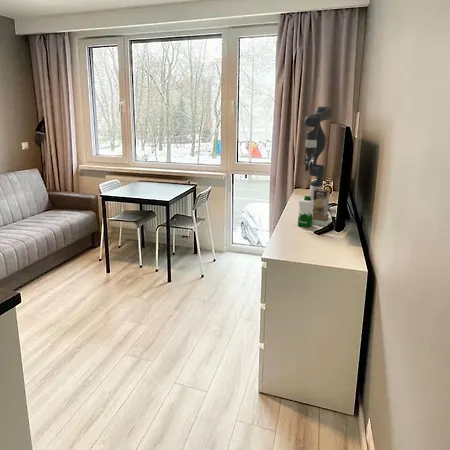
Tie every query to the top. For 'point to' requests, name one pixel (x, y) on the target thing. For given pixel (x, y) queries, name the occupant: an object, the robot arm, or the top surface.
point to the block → (320, 217)
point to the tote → (322, 222)
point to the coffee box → (321, 202)
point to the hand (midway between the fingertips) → (308, 170)
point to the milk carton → (305, 212)
